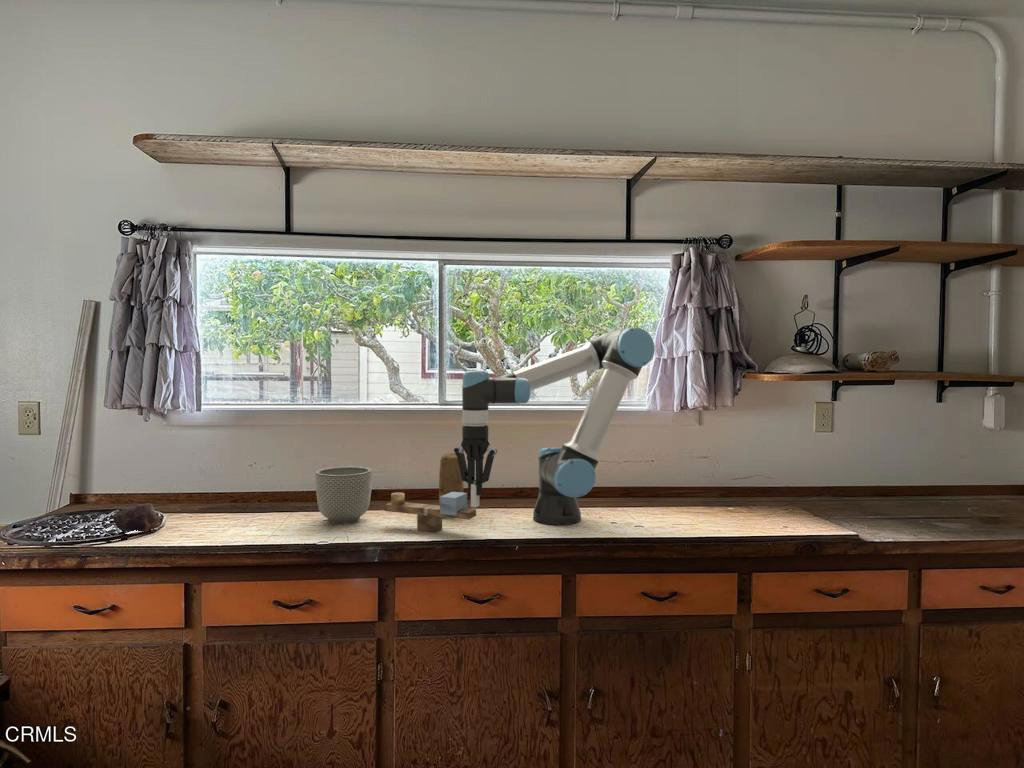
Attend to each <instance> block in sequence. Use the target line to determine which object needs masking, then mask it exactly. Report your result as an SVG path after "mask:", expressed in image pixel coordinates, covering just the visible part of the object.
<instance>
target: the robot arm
mask: <svg viewBox="0 0 1024 768" xmlns="http://www.w3.org/2000/svg"><path fill="white" fill-rule="evenodd" d="M655 349H656V347H655V342H654V339H653V337H652V336H651V335H650V333H649V332H648V331H647V330H645V329H643V328H641V327H633V326H629V327H625V328H618V329H614V330H611V331H610V330H609V332H606V333H605V334H602V335H600V336H598V337H596V338H594V339H592V340H588V341H586V342H585V343H584V345H583V346H581V347H578V348H576V349H573V350H570V351H567V352H565V353H563V354H559V355H555V356H554V357H550V358H548V359H545V360H543V361H542V360H541V361H540V362H536V363H534V364H531V365H529V366H526V367H523V368H520V369H517V370H515V371H514V370H513V371H512V372H510V373H507V374H504V375H500V376H499V375H498V376H495V377H490V375H489V372H488V371H486V370H481V371H480V370H479V371H478V370H467V371H465V372H463V374H462V386H461V388H462V389H461V392H462V393H461V394H462V398H461V399H462V400H461V401H462V415H461V416H462V417H461V418H462V421H461V423H462V424H463V425H462V428H461V430H462V431H461V432H462V433H461V435H462V436H461V437H462V441H461V442H460V445H459V446H457V447H454V448H453V452H454V453H455V454H456V455H457V459H458V464H459V468H460V473H461V478H462V481H463V482H465V483H467V495H470V507H471V508H477V507H479V506H480V496H482V495H483V484H484V483H486V482H488V481H489V480H490V475H491V472H492V466H493V463H494V459H495V457H496V455H497V452H498V450H497V449H495V448H493V447H491V445H490V442H489V426H488V423H489V407H490V406H489V405H490V404H491V405H496V404H498V405H500V404H501V405H502V404H504V405H505V404H506V405H510V404H511V405H512V404H515V405H519V404H527V403H528V402H529V401H530V399H531V391H534V390H537V389H540V388H542V387H545V386H548V385H551V384H554V383H557V382H559V381H562V380H565V379H568V378H571V377H573V376H575V375H578V374H581V373H584V372H586V371H590V370H594V371H599V370H602V369H603V370H602V372H601V374H600V377H599V378H598V381H597V383H596V385H595V388H594V389H593V391H592V394H591V396H590V398H589V400H588V403H587V405H586V406H585V409H584V411H583V413H582V415H581V417H580V420H579V421H578V424H577V425H576V428H575V430H574V432H573V433H572V437H571V439H570V440H568V442H565V443H562V446H561V447H543V448H540V449H539V453H538V497H537V498H536V499H537V500H536V503H535V506H534V509H533V518H532V519H533V520H534V521H535V522H537V523H541V524H544V525H545V524H547V525H552V526H553V525H554V526H555V525H559V526H560V525H572V524H577V523H579V522H581V521H582V520H581V518H582V511H581V509H580V506H579V503H578V499H577V498H580V497H584V496H585V495H587V494H588V493H589V492H590V491H591V490H592V489H593V487H594V486H595V483H596V479H597V478H596V472H595V471H596V468H597V466H598V464H599V461H600V460H599V456H598V451H599V449H600V447H601V445H602V442H603V441H604V439H605V435H606V434H607V432H608V430H609V428H610V426H611V423H612V421H613V419H614V417H615V414H616V412H617V410H618V408H619V405H620V403H621V402H622V399H623V398H624V395H625V394H626V390H627V388H628V386H629V384H630V383H631V382H632V381H633V380H635V379H638V377H639V374H640V373H641V370H642V369H643V367H645V366H647V364H649V363H650V362H651V361H652V359H653V358H654V355H655V351H656V350H655ZM465 454H466V457H465ZM486 454H487V456H486V459H485V458H484V457H485V455H486ZM484 459H485V462H484ZM466 461H467V462H466Z"/></svg>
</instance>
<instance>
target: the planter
mask: <svg viewBox="0 0 1024 768" xmlns="http://www.w3.org/2000/svg"><path fill="white" fill-rule="evenodd" d="M314 479H315V480H314V482H315V491H316V492H315V493H316V502H317V506H318V511H319V512H320V514H321V515H322V516H323V517H324V518H326V519H328V521H329V523H331V524H333V525H336V526H337V525H341V526H343V525H350V524H351V525H352V524H354V523H355V524H356V523H357V522H358V521H360V518H361V517H362V516H363V515H366V513H367V511H368V510H369V507H370V503H371V495H372V483H373V482H372V481H373V471H372V469H371V468H369V467H364V466H333V467H326V468H321V469H318V470H316V471H315V475H314Z"/></svg>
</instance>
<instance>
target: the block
mask: <svg viewBox="0 0 1024 768" xmlns="http://www.w3.org/2000/svg"><path fill="white" fill-rule="evenodd" d="M438 473H439V476H438V477H439V478H438V483H439V484H438V505H439V506H440V496H443V495H445V494H448V493H450V492H461V493H464V490H465V489H464V481H462V478H461V473H460V468H459V464H458V459H457V455H456V454H455V452H454V453H453V452H451V453H449V452H448V453H447V452H446V453H444V454H443V455H442V456H441V458H440V463H439V472H438Z"/></svg>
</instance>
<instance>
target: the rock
mask: <svg viewBox="0 0 1024 768" xmlns="http://www.w3.org/2000/svg"><path fill="white" fill-rule="evenodd" d="M112 519H113V522H114V524H115V525H116V528H117V527H118V528H119V529H121V530H126V531H134V530H136V531H137V530H138V531H144V532H143V533H147V532H149V531H148V530H151V529H154V528H156V529H157V528H160V527H161V526H162V524H163V522H164V518H163V516H162V515H157V513H156V510H155V508H154V506H153V504H152V503H149V502H148V503H142V504H137V505H135V506H134V507H129V508H124V509H122V510H119V512H116V513H115V514H114V515H113V516H112ZM118 528H117V529H118Z"/></svg>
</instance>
